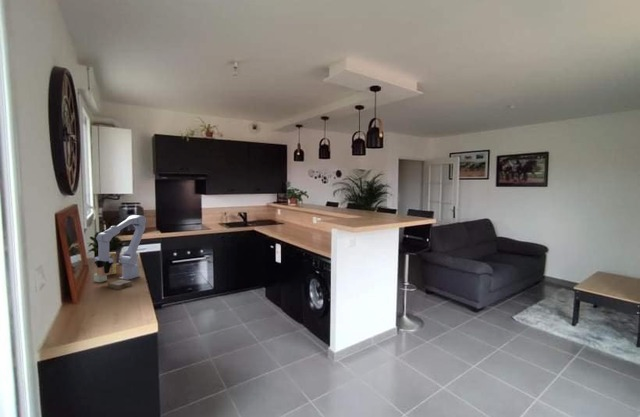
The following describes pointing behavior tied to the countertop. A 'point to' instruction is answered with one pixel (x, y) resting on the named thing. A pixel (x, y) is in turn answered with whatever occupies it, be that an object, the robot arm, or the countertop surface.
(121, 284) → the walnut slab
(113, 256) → the candy box
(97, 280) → the sage cube
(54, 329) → the countertop surface
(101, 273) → the terracotta cube
